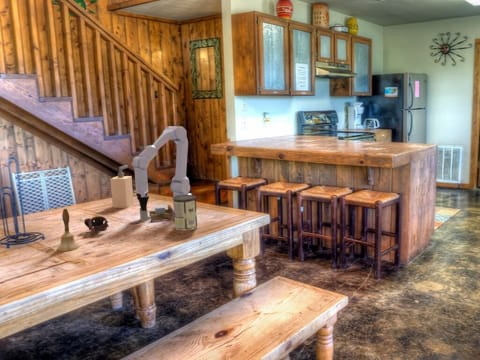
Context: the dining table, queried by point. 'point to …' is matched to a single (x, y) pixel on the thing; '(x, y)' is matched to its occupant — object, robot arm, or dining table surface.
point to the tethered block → (145, 216)
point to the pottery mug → (96, 224)
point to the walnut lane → (163, 216)
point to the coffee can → (185, 212)
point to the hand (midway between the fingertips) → (143, 208)
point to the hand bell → (67, 235)
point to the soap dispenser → (122, 190)
